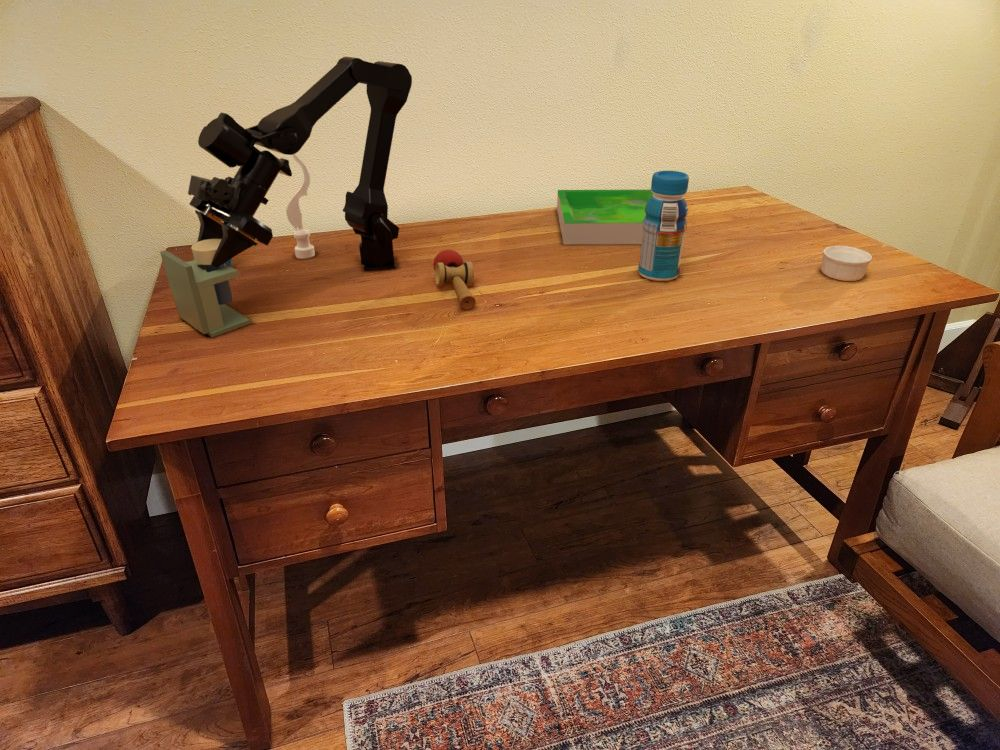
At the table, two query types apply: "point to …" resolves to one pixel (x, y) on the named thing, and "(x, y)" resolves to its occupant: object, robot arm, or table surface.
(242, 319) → the stand
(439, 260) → the kendama
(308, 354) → the table surface
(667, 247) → the beverage bottle
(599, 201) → the tray
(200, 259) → the peg
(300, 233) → the decorative finial
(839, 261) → the ramekin
